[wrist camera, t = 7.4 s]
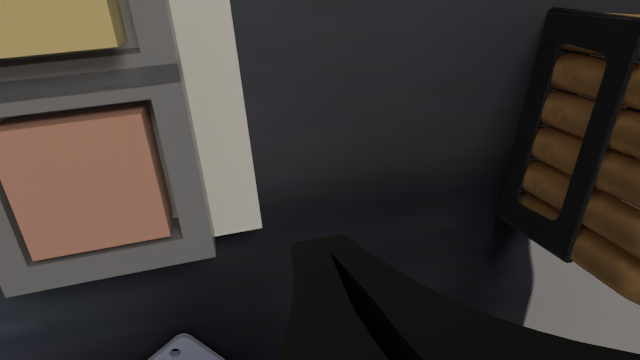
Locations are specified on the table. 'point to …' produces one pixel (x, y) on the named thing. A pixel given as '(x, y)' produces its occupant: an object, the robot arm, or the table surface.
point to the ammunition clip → (582, 147)
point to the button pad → (169, 127)
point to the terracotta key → (85, 179)
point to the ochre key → (59, 26)
